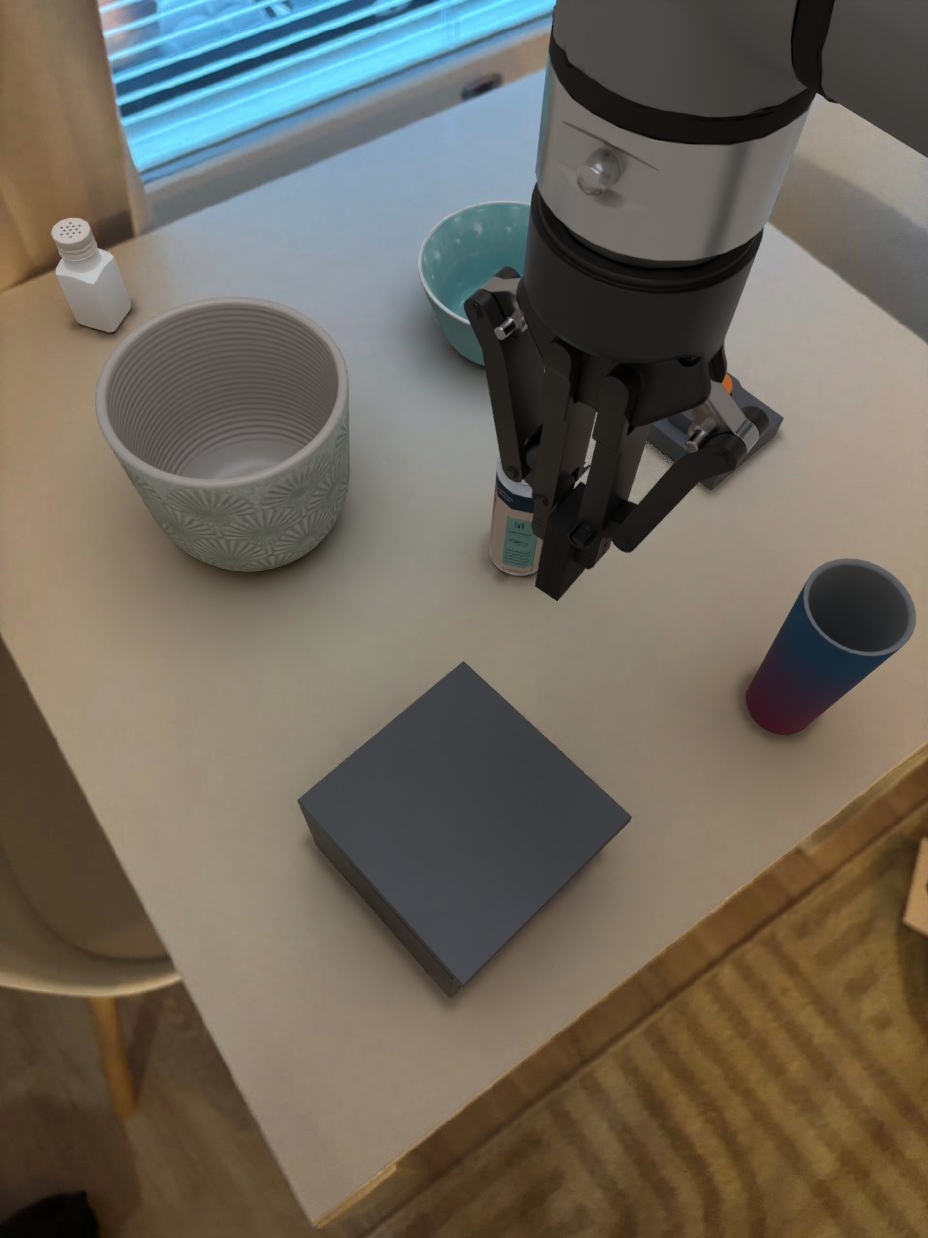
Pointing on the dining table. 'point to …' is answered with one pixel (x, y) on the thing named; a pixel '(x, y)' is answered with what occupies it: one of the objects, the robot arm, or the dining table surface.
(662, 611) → the dining table surface
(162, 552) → the dining table surface
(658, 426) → the control block
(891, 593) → the cup
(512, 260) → the bowl
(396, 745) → the dark grey square slab
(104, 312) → the pepper shaker
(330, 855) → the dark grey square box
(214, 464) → the planter
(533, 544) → the beer can
